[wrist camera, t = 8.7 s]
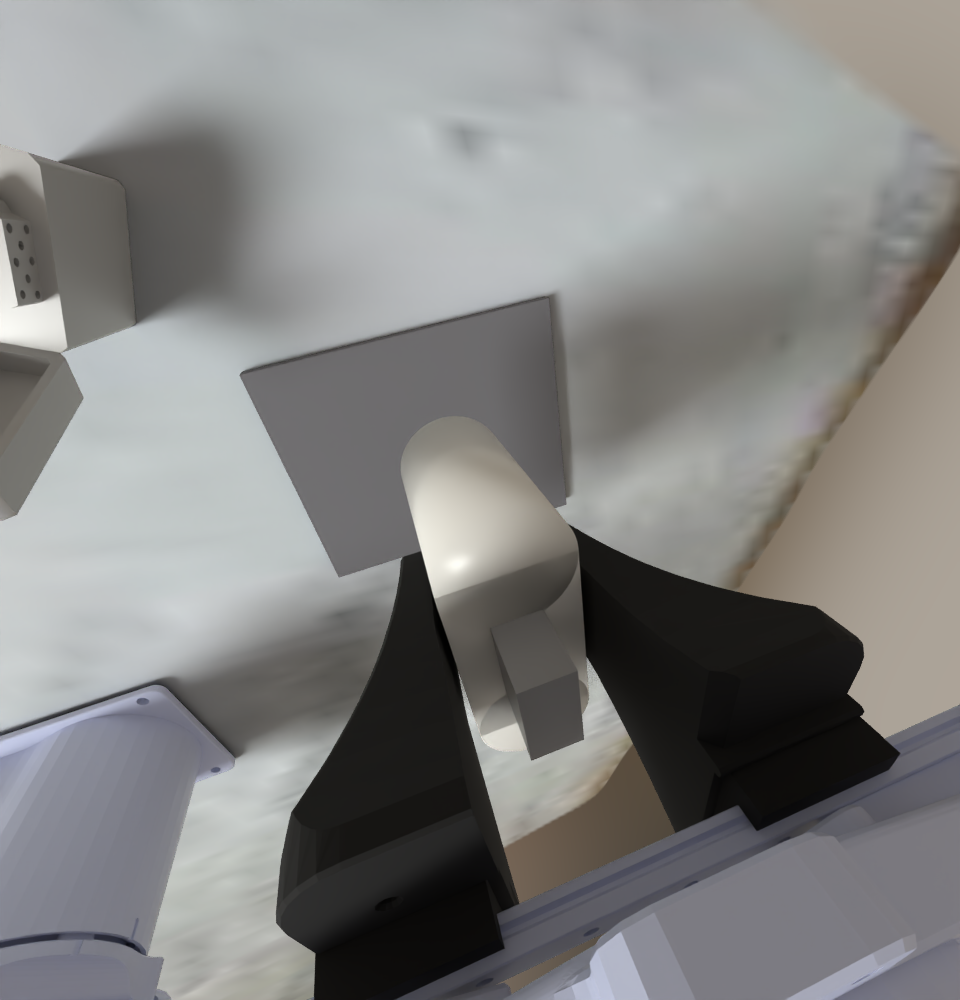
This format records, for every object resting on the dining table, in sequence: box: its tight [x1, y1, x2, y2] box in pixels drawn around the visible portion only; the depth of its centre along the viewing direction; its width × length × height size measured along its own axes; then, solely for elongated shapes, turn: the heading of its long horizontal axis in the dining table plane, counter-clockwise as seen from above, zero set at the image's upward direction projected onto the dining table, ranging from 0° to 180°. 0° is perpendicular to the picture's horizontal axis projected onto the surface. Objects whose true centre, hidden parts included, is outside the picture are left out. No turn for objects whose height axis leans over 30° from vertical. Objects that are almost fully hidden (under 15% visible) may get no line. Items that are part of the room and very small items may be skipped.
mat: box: [240, 297, 566, 577], centre depth 19 cm, size 12×10×1 cm
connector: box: [401, 416, 589, 761], centre depth 11 cm, size 3×8×7 cm, turn 10°
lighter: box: [0, 144, 136, 521], centre depth 10 cm, size 7×2×8 cm, turn 164°
